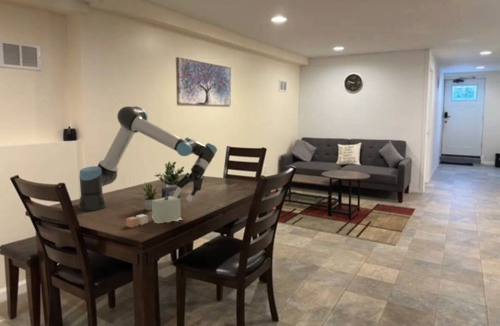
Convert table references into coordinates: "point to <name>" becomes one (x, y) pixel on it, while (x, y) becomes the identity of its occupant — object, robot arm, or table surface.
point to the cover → (166, 208)
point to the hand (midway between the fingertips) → (180, 199)
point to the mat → (168, 221)
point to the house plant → (148, 196)
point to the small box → (169, 191)
